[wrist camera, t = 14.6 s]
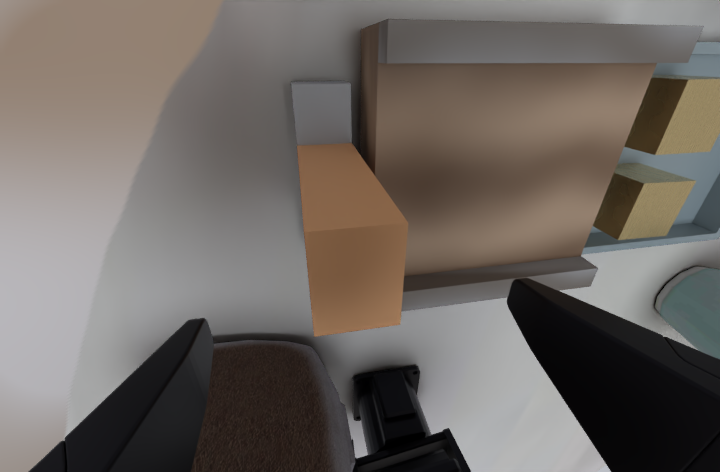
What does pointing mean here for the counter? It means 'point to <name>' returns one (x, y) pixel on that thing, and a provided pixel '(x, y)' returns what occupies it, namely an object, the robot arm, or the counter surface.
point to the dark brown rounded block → (272, 412)
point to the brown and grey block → (345, 218)
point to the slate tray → (679, 173)
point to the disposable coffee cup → (694, 307)
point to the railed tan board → (502, 142)
